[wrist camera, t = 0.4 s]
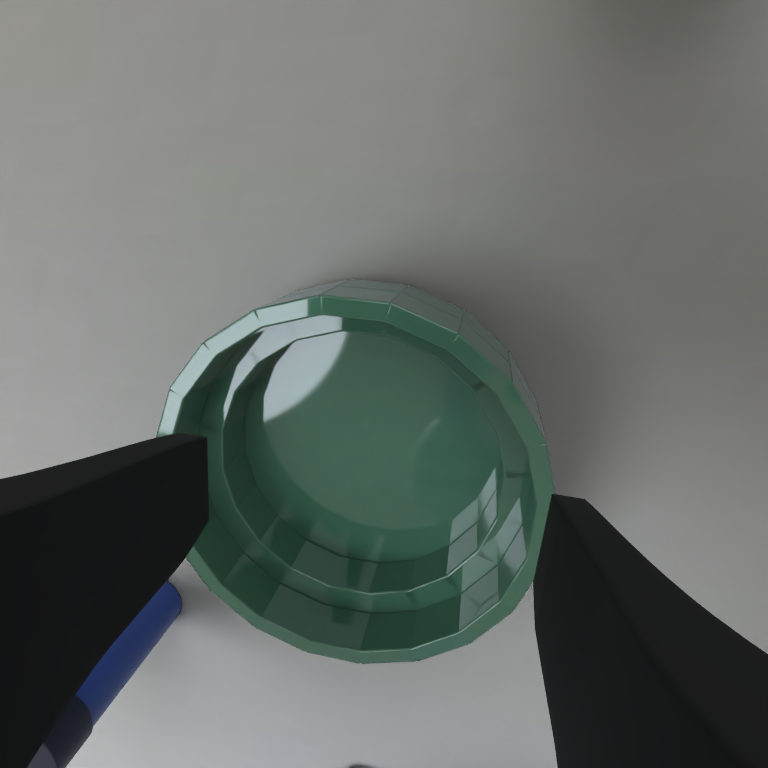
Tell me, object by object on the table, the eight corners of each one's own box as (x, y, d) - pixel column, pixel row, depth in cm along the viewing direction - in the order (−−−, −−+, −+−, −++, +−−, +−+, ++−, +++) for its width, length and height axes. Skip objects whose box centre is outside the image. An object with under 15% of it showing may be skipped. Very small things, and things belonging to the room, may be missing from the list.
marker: (185, 626, 26) (62, 796, 19) (133, 615, 27) (-8, 777, 19) (183, 579, 26) (52, 738, 18) (129, 569, 26) (-20, 719, 18)
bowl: (511, 607, 23) (516, 698, 18) (221, 552, 25) (166, 622, 20) (570, 298, 18) (595, 325, 14) (214, 261, 20) (142, 274, 16)
